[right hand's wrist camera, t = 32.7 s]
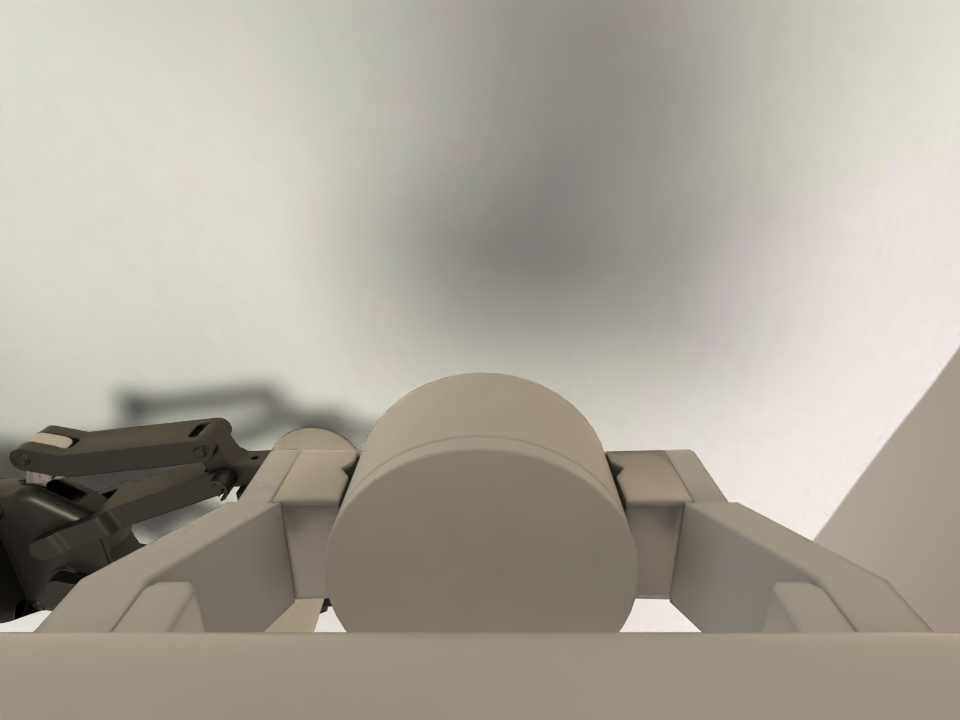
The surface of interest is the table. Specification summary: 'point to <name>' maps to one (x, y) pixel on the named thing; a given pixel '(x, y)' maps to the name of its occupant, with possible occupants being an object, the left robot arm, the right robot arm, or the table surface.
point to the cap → (482, 517)
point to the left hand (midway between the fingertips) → (378, 531)
